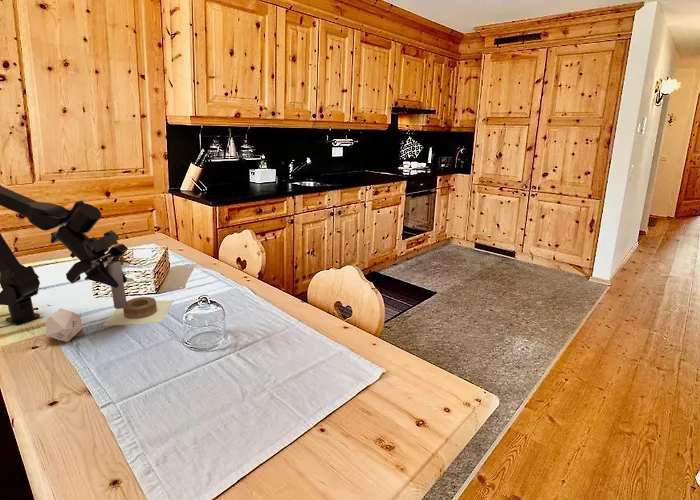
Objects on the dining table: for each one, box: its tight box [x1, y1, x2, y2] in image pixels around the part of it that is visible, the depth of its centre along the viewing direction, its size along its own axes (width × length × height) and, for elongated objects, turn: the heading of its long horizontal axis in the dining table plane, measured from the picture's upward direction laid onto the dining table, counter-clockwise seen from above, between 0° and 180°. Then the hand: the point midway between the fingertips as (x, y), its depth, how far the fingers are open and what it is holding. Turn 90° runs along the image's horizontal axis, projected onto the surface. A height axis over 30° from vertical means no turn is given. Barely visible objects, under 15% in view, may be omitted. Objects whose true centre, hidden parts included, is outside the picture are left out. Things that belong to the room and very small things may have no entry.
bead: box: [123, 296, 157, 319], centre depth 135 cm, size 9×9×3 cm
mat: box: [102, 299, 174, 327], centre depth 136 cm, size 16×16×1 cm
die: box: [44, 308, 84, 343], centre depth 120 cm, size 8×9×10 cm
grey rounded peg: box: [107, 260, 127, 310], centre depth 122 cm, size 3×3×13 cm
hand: (121, 284), depth 122 cm, fingers closed on grey rounded peg, 3 cm apart
